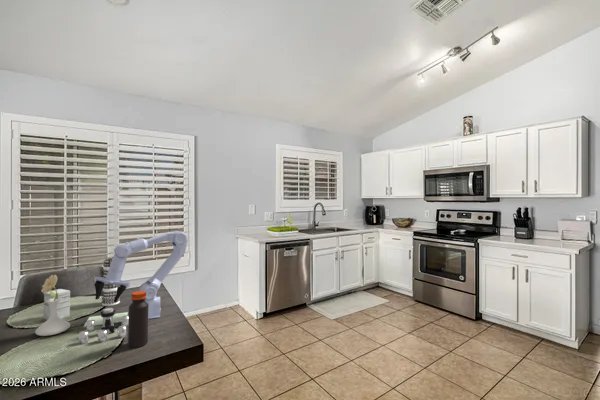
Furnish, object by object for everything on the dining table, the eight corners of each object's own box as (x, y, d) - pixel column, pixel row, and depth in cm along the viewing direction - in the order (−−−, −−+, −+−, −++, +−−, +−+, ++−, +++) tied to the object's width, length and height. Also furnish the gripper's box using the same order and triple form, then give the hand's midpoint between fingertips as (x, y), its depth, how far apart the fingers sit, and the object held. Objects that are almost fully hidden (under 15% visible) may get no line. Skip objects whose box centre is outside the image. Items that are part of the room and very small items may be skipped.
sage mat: (128, 312, 147) (128, 312, 147) (125, 321, 136) (125, 320, 136) (89, 317, 140) (89, 316, 140) (83, 327, 129) (83, 326, 129)
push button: (96, 337, 120) (96, 313, 120) (96, 333, 124) (96, 309, 124) (115, 333, 124) (116, 309, 124) (114, 329, 128) (115, 306, 128)
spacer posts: (129, 322, 135) (130, 313, 135) (125, 338, 119) (125, 328, 119) (87, 328, 128) (87, 319, 129) (76, 346, 112) (77, 336, 112)
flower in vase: (35, 331, 125) (37, 272, 125) (69, 324, 132) (71, 269, 132) (34, 342, 115) (35, 278, 115) (71, 334, 122) (72, 274, 122)
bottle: (143, 338, 119) (144, 289, 120) (150, 343, 115) (151, 292, 116) (125, 344, 114) (126, 292, 115) (132, 350, 110) (133, 296, 110)
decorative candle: (104, 301, 164) (105, 256, 164) (122, 299, 167) (123, 255, 167) (98, 306, 155) (99, 259, 156) (118, 305, 158) (119, 258, 158)
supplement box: (42, 319, 138) (43, 292, 138) (60, 314, 145) (61, 288, 145) (52, 322, 135) (53, 294, 135) (70, 316, 142) (70, 290, 142)
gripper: (95, 267, 130) (84, 299, 127) (129, 274, 132) (119, 305, 130) (102, 266, 137) (92, 296, 134) (134, 272, 139) (125, 302, 137)
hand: (106, 300), depth 133 cm, fingers open, 7 cm apart
